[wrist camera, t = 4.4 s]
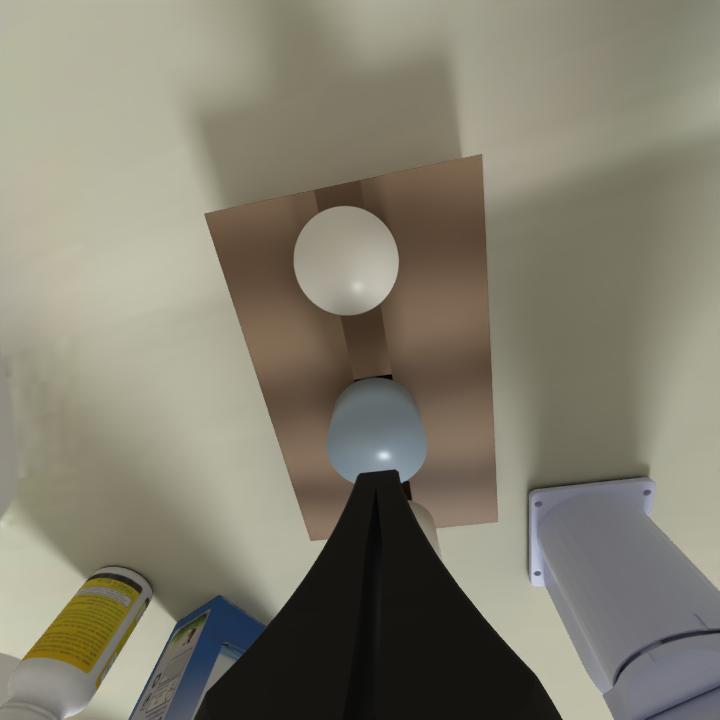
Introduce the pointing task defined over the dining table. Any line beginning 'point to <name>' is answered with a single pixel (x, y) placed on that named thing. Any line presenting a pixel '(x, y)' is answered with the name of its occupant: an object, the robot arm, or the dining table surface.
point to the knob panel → (375, 335)
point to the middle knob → (376, 430)
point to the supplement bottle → (77, 648)
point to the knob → (346, 260)
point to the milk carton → (195, 660)
